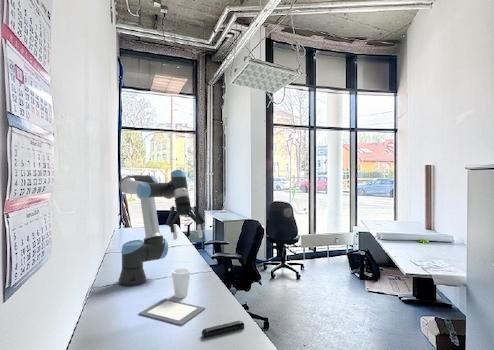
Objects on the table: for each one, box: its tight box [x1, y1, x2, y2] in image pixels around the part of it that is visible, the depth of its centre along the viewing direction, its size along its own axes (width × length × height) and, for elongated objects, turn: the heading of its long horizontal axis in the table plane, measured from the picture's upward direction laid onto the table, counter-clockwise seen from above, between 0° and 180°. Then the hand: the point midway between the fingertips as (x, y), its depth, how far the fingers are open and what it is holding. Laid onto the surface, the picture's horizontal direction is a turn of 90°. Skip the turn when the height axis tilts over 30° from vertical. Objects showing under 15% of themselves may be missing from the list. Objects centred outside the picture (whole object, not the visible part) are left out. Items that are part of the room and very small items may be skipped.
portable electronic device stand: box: [201, 320, 245, 339], centre depth 129 cm, size 18×3×3 cm, turn 117°
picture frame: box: [138, 298, 206, 327], centre depth 147 cm, size 24×18×1 cm
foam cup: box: [171, 267, 191, 299], centre depth 166 cm, size 10×9×13 cm
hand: (188, 238), depth 156 cm, fingers open, 13 cm apart
